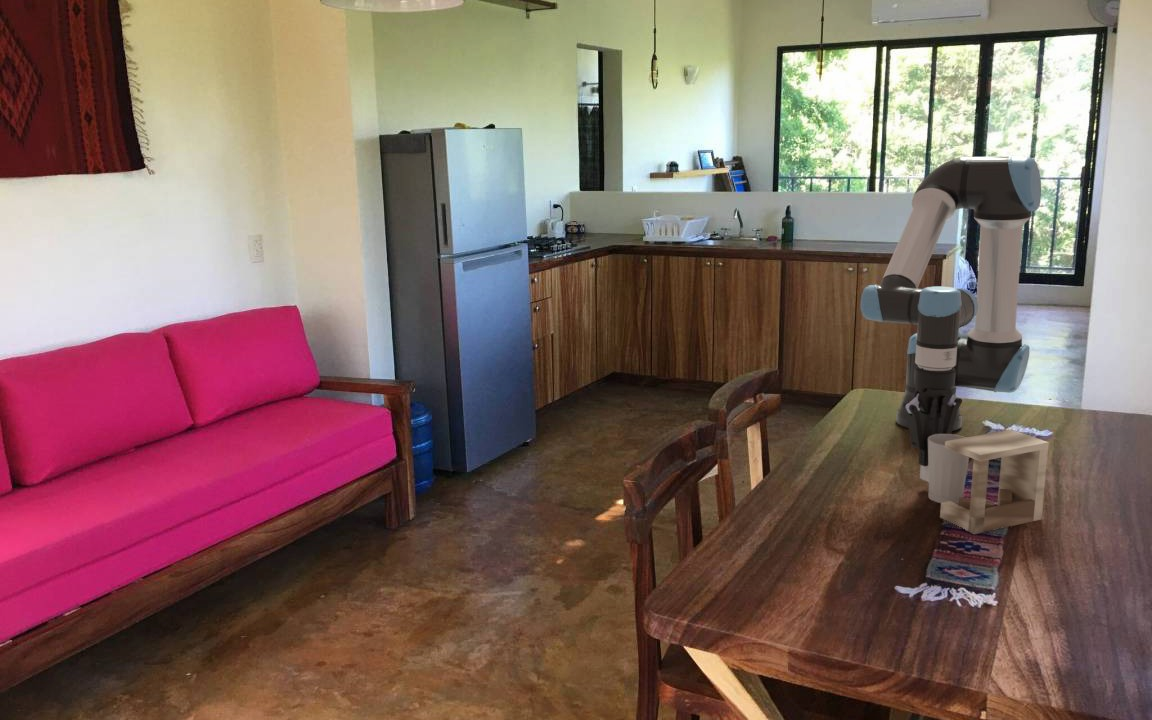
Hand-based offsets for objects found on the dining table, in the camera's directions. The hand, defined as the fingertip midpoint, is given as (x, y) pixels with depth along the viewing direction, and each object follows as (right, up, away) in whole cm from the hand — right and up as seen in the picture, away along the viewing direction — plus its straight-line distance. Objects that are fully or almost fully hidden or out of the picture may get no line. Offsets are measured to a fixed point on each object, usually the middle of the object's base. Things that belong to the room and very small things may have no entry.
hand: (927, 479), depth 188 cm
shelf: (+6, -5, -14) cm, 17 cm away
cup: (+2, -3, -4) cm, 6 cm away
